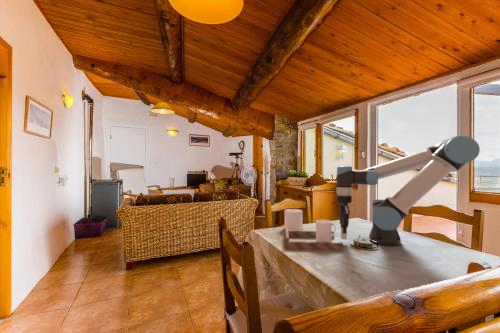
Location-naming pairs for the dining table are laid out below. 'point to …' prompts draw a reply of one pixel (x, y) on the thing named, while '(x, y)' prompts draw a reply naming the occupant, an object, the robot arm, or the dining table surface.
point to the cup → (294, 219)
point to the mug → (324, 231)
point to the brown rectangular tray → (309, 244)
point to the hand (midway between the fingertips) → (343, 238)
